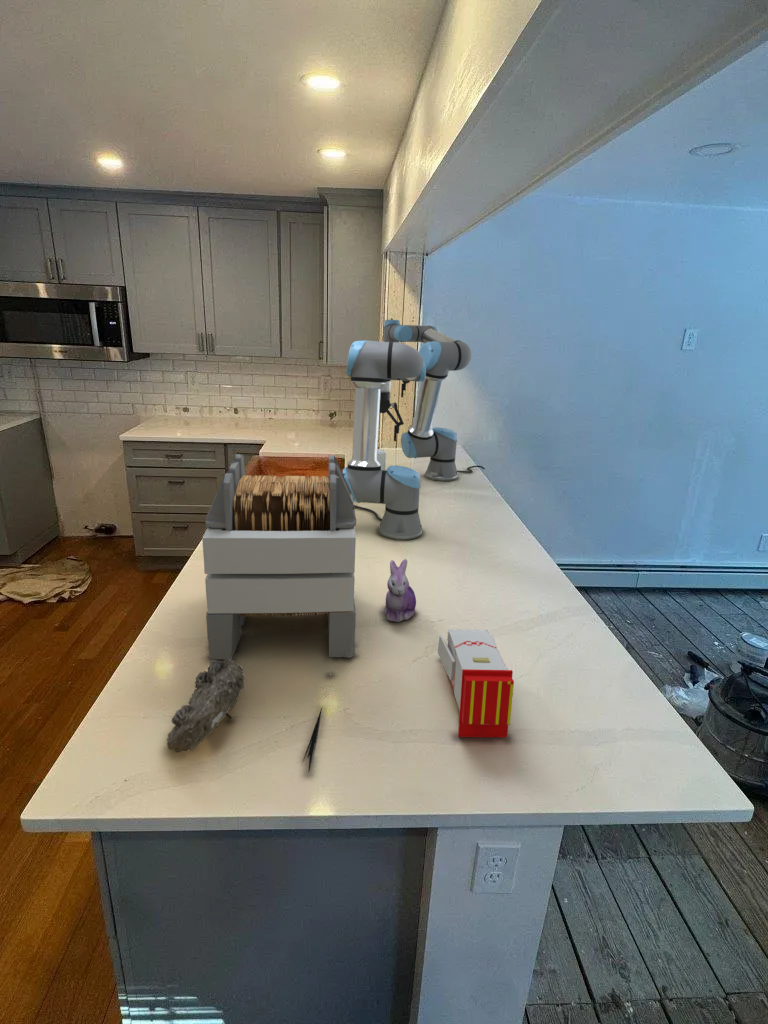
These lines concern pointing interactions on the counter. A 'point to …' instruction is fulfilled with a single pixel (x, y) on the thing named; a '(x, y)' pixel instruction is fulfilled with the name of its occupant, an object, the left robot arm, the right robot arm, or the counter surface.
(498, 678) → the toy
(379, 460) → the cosmetic box
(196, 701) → the fossil
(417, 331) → the right robot arm
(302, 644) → the counter surface
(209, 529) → the record storage crate
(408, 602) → the figurine
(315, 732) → the feather
